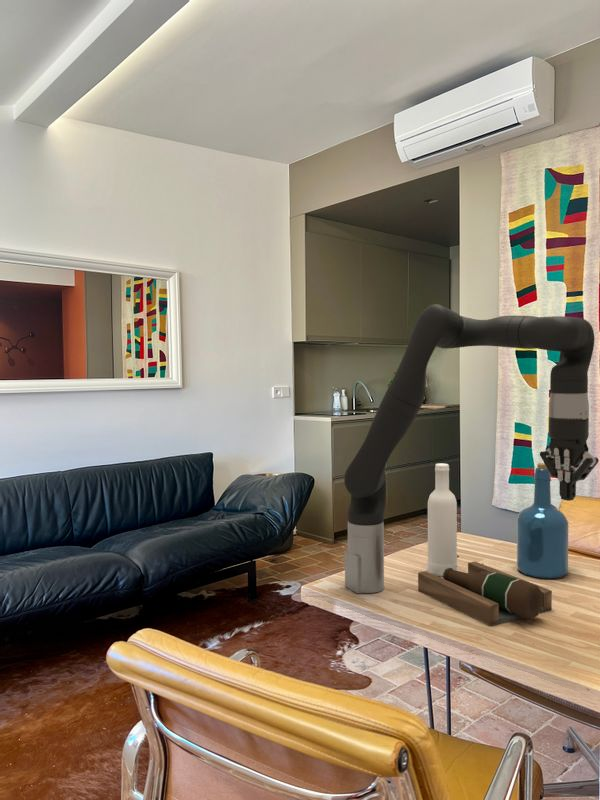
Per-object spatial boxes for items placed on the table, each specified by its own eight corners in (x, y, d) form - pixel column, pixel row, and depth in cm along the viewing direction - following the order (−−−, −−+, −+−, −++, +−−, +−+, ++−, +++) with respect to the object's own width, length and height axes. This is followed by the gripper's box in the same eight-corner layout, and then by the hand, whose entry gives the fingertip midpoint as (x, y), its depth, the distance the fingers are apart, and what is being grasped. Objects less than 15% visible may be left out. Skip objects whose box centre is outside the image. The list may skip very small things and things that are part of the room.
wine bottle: (564, 583, 159) (564, 468, 158) (511, 575, 166) (511, 465, 165) (571, 568, 171) (572, 461, 169) (522, 561, 178) (522, 458, 176)
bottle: (460, 576, 165) (460, 466, 163) (430, 576, 165) (430, 466, 164) (453, 567, 173) (453, 461, 171) (425, 567, 173) (425, 462, 172)
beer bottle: (528, 581, 133) (441, 556, 152) (520, 617, 131) (433, 587, 150) (546, 587, 137) (459, 562, 156) (539, 622, 136) (452, 592, 155)
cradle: (490, 626, 133) (490, 605, 133) (418, 590, 155) (418, 572, 155) (551, 609, 142) (551, 590, 141) (475, 577, 164) (475, 561, 164)
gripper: (529, 414, 129) (529, 495, 130) (583, 418, 117) (582, 508, 118) (554, 412, 132) (553, 492, 133) (609, 416, 120) (608, 503, 121)
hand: (567, 499), depth 125 cm, fingers closed
